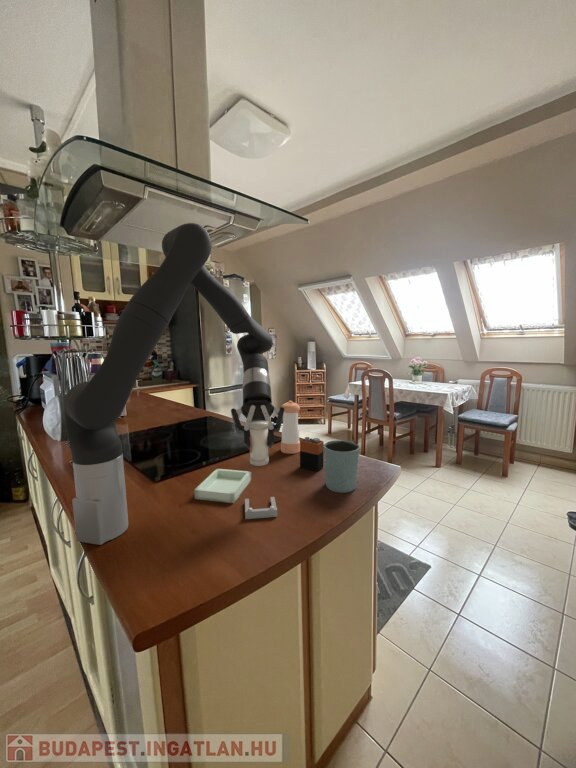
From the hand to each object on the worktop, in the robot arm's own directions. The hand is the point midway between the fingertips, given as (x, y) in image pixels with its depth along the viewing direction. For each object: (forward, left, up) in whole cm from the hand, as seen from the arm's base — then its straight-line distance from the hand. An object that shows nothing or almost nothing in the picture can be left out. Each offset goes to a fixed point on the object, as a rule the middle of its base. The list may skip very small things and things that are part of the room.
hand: (259, 446), depth 75 cm
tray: (+10, +14, -17) cm, 24 cm away
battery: (+30, -8, -17) cm, 35 cm away
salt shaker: (+44, +2, -17) cm, 47 cm away
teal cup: (+19, -18, -17) cm, 31 cm away
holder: (+2, +1, -17) cm, 17 cm away
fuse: (+2, +1, -5) cm, 5 cm away
